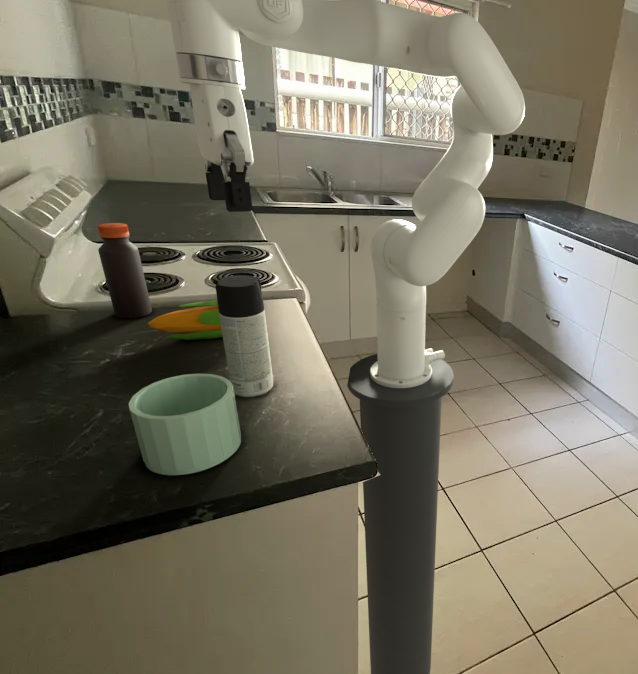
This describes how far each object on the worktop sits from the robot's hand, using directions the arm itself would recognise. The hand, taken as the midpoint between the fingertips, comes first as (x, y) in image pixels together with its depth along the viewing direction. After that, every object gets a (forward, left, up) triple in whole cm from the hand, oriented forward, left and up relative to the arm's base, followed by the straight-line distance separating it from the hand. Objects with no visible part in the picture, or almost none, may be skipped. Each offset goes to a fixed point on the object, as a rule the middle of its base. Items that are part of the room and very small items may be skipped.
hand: (230, 205), depth 70 cm
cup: (+11, +12, -32) cm, 36 cm away
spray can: (0, -1, -32) cm, 32 cm away
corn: (+2, -28, -32) cm, 43 cm away
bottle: (+13, -48, -32) cm, 60 cm away
